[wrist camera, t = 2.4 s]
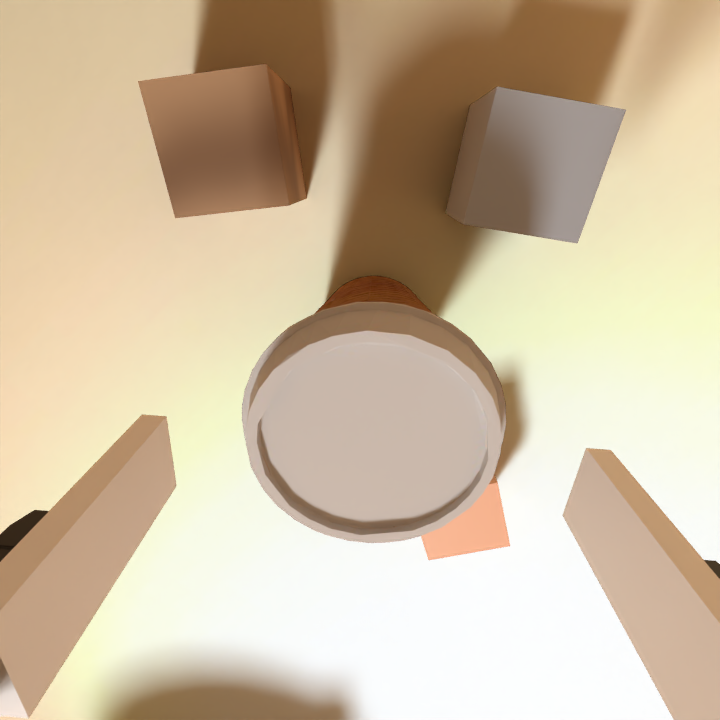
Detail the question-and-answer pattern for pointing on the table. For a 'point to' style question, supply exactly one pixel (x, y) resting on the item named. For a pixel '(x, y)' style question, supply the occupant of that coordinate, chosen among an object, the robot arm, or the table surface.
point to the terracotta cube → (471, 528)
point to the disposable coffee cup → (374, 417)
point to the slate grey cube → (531, 163)
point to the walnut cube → (225, 140)
